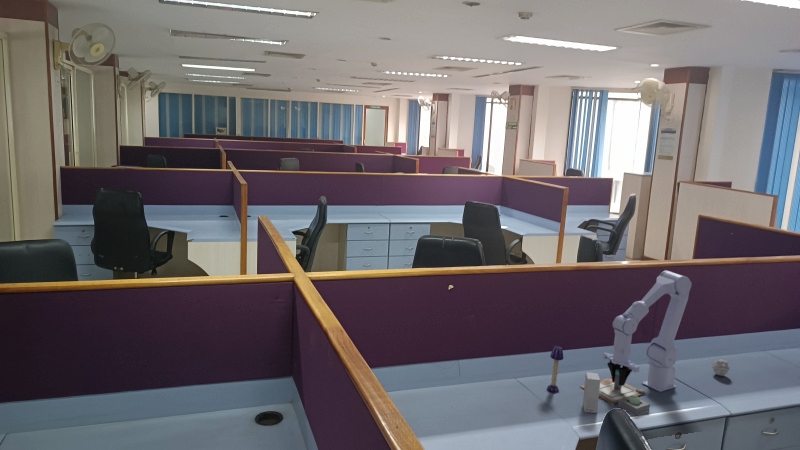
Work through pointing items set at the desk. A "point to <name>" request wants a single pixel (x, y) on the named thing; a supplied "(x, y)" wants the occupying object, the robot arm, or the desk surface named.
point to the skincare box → (591, 392)
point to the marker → (617, 380)
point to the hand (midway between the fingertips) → (618, 383)
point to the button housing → (632, 408)
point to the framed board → (616, 391)
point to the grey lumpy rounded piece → (720, 367)
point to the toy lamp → (555, 367)
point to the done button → (634, 400)
